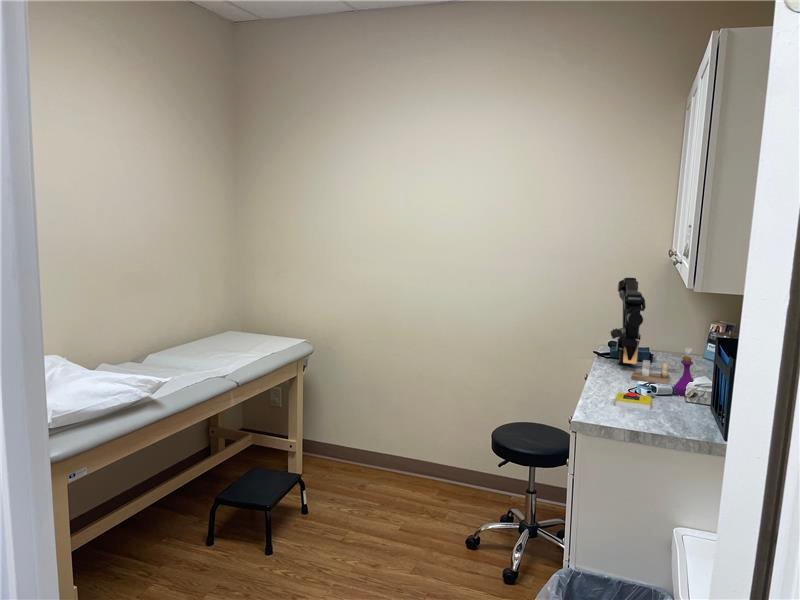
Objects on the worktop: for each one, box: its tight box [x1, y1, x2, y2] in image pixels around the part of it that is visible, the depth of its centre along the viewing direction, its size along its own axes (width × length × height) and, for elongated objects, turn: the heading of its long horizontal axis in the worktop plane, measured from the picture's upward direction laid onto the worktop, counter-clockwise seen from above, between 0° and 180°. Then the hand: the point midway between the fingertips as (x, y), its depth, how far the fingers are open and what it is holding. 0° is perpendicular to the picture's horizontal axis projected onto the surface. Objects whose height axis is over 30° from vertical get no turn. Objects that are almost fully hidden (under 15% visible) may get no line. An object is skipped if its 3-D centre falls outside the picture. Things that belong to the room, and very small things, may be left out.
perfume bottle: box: [672, 347, 695, 397], centre depth 211 cm, size 8×8×18 cm
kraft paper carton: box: [623, 346, 639, 365], centre depth 247 cm, size 5×5×8 cm
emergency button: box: [610, 392, 659, 412], centre depth 200 cm, size 9×4×15 cm
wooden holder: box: [630, 359, 671, 385], centre depth 235 cm, size 10×14×8 cm
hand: (630, 358), depth 247 cm, fingers closed on kraft paper carton, 5 cm apart
